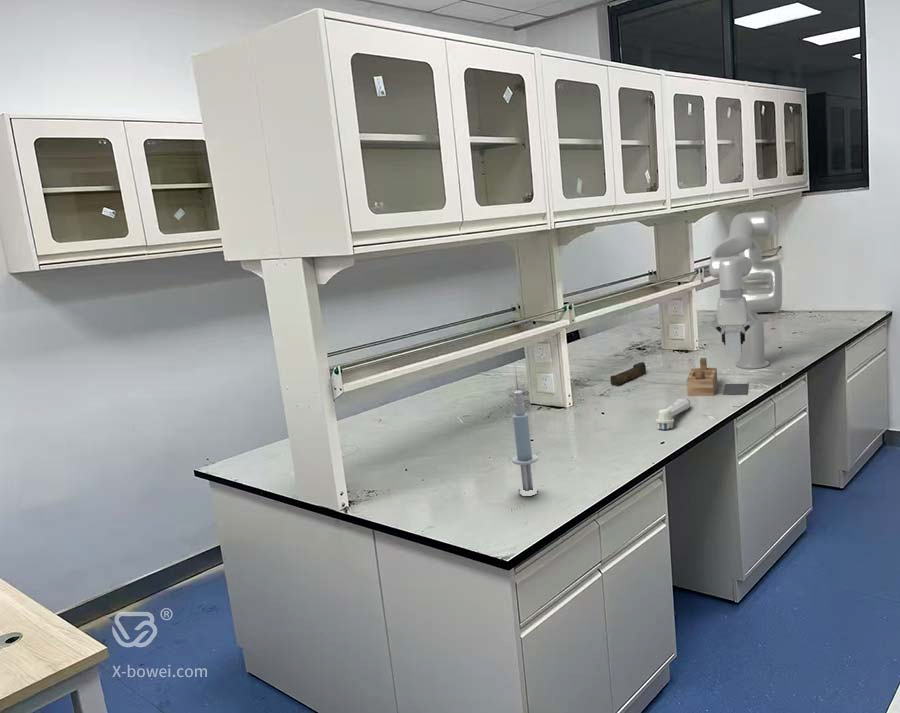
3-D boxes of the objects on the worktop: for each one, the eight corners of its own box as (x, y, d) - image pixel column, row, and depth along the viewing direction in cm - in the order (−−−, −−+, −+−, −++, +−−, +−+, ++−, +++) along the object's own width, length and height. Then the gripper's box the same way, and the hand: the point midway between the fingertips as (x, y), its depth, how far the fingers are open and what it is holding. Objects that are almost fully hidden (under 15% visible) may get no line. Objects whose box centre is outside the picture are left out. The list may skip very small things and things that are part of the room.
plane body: (692, 383, 275) (691, 358, 273) (717, 382, 271) (716, 357, 270) (687, 395, 259) (686, 369, 257) (713, 395, 256) (712, 368, 254)
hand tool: (620, 387, 283) (619, 373, 282) (610, 386, 287) (609, 372, 286) (652, 374, 298) (651, 361, 297) (642, 373, 301) (642, 360, 300)
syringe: (521, 499, 186) (508, 364, 179) (517, 490, 192) (505, 359, 186) (542, 496, 186) (531, 361, 179) (538, 487, 192) (526, 356, 186)
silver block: (727, 351, 261) (726, 330, 260) (741, 351, 259) (741, 329, 257) (726, 355, 255) (725, 333, 253) (741, 355, 253) (740, 333, 251)
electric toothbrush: (692, 397, 244) (670, 408, 223) (692, 417, 244) (670, 430, 223) (676, 396, 247) (653, 407, 226) (677, 416, 247) (653, 428, 226)
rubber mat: (725, 384, 268) (725, 383, 267) (748, 384, 264) (748, 383, 264) (722, 394, 255) (722, 393, 255) (746, 394, 252) (746, 393, 252)
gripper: (757, 290, 253) (759, 340, 256) (707, 294, 260) (709, 342, 263) (757, 293, 246) (759, 345, 249) (705, 297, 253) (707, 346, 257)
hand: (733, 343), depth 256 cm, fingers closed on silver block, 5 cm apart
